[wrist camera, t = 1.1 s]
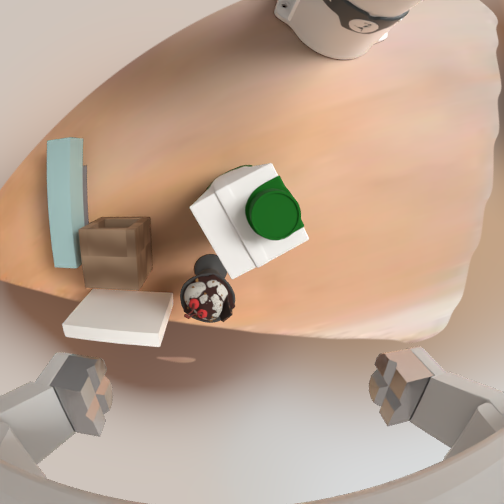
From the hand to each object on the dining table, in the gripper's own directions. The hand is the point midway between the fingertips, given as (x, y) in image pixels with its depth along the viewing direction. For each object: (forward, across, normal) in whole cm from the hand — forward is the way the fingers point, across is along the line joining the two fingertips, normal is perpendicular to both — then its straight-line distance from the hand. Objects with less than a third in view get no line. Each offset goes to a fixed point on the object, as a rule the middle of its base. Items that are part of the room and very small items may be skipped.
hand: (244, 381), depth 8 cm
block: (+36, +15, +6) cm, 40 cm away
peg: (+34, +23, -2) cm, 41 cm away
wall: (+36, +16, +15) cm, 42 cm away
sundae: (+37, +2, +10) cm, 38 cm away
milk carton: (+36, -2, -1) cm, 37 cm away
